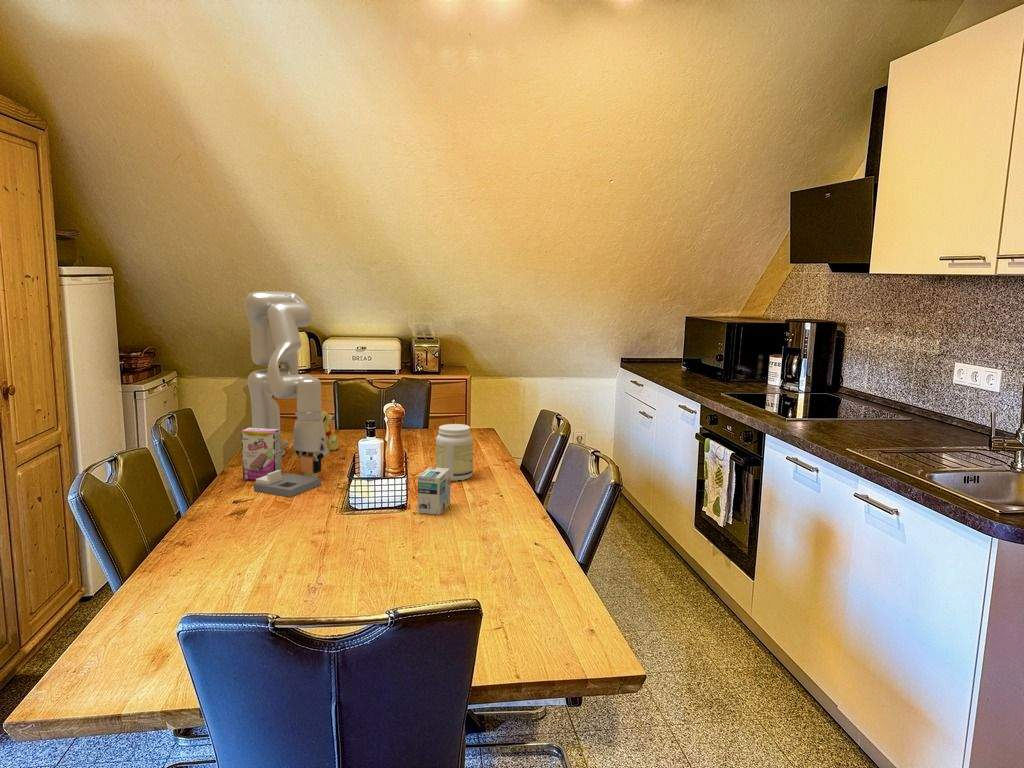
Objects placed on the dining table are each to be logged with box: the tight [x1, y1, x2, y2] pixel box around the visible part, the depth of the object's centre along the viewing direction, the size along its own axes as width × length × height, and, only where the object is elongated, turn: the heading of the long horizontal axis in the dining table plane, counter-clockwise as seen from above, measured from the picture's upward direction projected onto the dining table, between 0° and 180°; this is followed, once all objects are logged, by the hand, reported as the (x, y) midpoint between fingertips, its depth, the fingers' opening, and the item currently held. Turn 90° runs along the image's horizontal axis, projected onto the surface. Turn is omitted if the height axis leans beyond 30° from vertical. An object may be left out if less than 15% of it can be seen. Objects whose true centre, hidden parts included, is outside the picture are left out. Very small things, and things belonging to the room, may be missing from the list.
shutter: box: [255, 470, 283, 485], centre depth 210 cm, size 6×5×3 cm
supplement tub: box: [435, 423, 474, 482], centre depth 226 cm, size 12×12×17 cm
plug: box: [299, 452, 319, 478], centre depth 222 cm, size 4×4×9 cm
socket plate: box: [253, 472, 322, 498], centre depth 212 cm, size 14×14×2 cm
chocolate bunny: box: [321, 410, 340, 452], centre depth 257 cm, size 7×11×15 cm, turn 112°
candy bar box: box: [240, 427, 283, 482], centre depth 219 cm, size 11×5×16 cm, turn 84°
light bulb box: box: [417, 466, 451, 516], centre depth 194 cm, size 11×7×11 cm, turn 168°
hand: (310, 470), depth 223 cm, fingers closed on plug, 4 cm apart
